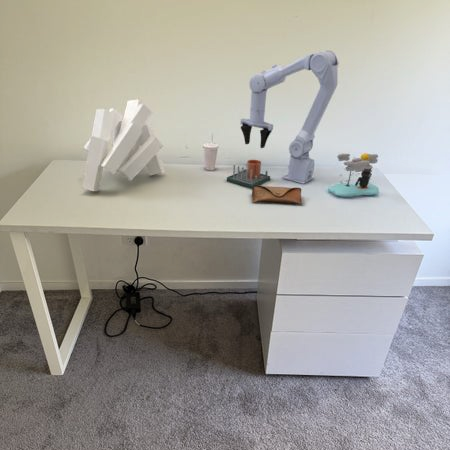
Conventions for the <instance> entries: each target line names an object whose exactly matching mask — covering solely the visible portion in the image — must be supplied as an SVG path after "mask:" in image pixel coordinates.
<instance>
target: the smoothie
mask: <svg viewBox="0 0 450 450" xmlns="http://www.w3.org/2000/svg"><path fill="white" fill-rule="evenodd" d="M210 138H211V141H210V142H206V143H203V144H202V149H203V153H204V154H203V155H204V164H205V169H206V171H214V170H215V169H216V164H217V163H216V162H217V156H218V149H219V145H218V143H214V134H213V133H211V137H210Z"/></svg>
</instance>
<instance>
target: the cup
mask: <svg viewBox="0 0 450 450" xmlns="http://www.w3.org/2000/svg"><path fill="white" fill-rule="evenodd" d="M261 168H262V161H261V160H258V159H249V160H247V161H246V169H248V176H247V178H248V179H250V174H251V170H252V179H255V176H257V179H259V178H260V173H261Z"/></svg>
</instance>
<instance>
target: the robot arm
mask: <svg viewBox="0 0 450 450" xmlns="http://www.w3.org/2000/svg"><path fill="white" fill-rule="evenodd" d="M339 64H340V63H339V60H338V58H337V55H336V53H335V52H334V51H332V50H325V51H318V52H315V53H311V54H308V55H305V56H302V57H300V58H299V59H297V60H295V61H293V62H290V63H289V64H287V65H284V66H282V65H281V64H278V65H277V64H274V65H271V68H269V69H267V70H262V71H261V72H260V74H254V75H253V76H252V77H251V78H250V80H249V83H248V84H249V89H250V91H251V92H250V93H251V95H250V109H249V118H240V130H241V132H242V135H243V138H244V144H245V145H249V144H250V142H251V134H252V133H251V132H252V129H253V127H254V128H259V129H260V130H259V133H260V145H259V146H260V149H264V148H265V147H266V143H267V141H268V139H269V136H270V135H271V133H272V132H273V130H274V124H272V123H269V122H266V121H265V113H266V101H267V93H268V92H267V91H268V90H269V89H271V88H273V87H276V86H278V85H280V84H282V83H284V82H285V81H286V79H287V77H288V76H291V75H293V74H296V73H299V72H301V71H304V70H305V71H311V72H312V73H313V75H314V76H315V77H316V78H317V80H318V83H319V85H320V87H319V89H318V92H317V93H316V96H315V98H314V100H313V103H312V105H311V107H310V110H309V111H308V114H307V116H306V118H305V121H304V122H303V125H302V128H301V129H300V131H299V132H298V133H297V135H295V138H294V140H293V141H292V142H290V144H289V146H288V151H289V152H288V153H289V154H290V157H289V162H288V163H289V164H288V171H287V175H284V176H283V177H282V178H283V179H284V180H288V181H291V182H295V183H299V184H301V185H304V184H307V183H308V182H310V181H311V180H313V179H314V178H313V175H314V169H315V159H313V158H311V157H310V151H311V150H312V149H313V148H314V147H313V146H314V139H315V137H316V136H315V133H316V131H317V129H318V128H319V127H318V126H319V124H320V122H321V121H322V118H323V116H324V114H325V112H326V110H327V108H328V106H329V104H330V101H331V99H332V97H333V95H334V93H335V91H336V89H337V86H338V67H339Z"/></svg>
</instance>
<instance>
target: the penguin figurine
mask: <svg viewBox="0 0 450 450" xmlns="http://www.w3.org/2000/svg"><path fill="white" fill-rule="evenodd" d="M336 157H337V159H338V162H343V161H344V162H343V165H344V166H346V167H345V168H344V169H343V170H345V171H346V172H349V174H348V179H346V182H340V183H336V184H333V185H330V186H328V187H327V191H329V192H330V193H331V194H334V195H336V196H339V197H345V198H348V197H357V196H374V195H377V194H380V190H379V187H378V186H377V185H375V184H373V183H370V180H371V177H372V175H373V173H372V172H373V170H372V169H373V165H372V164H377V163H378V158H379V155H378V154H377V153H376V154H375V153H367V152H365V153H362V154H361V156H360V157H354V158H352V159H350V158H351V154H350V153H338V154H337V156H336ZM354 172H355V173H354ZM353 175H355V176H359V177H358V178H357V180H356V182H355V183H350V182H351V181H352V180H351V176H353ZM339 176H340V177H342V174H339Z"/></svg>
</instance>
